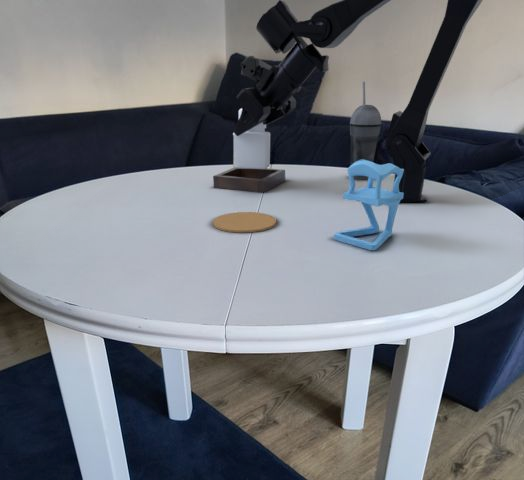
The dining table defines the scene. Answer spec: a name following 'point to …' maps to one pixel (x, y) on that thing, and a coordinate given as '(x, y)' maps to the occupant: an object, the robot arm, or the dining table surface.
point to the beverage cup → (364, 133)
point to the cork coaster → (244, 222)
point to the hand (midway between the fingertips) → (243, 132)
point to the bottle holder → (249, 179)
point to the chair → (372, 201)
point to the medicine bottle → (252, 148)
